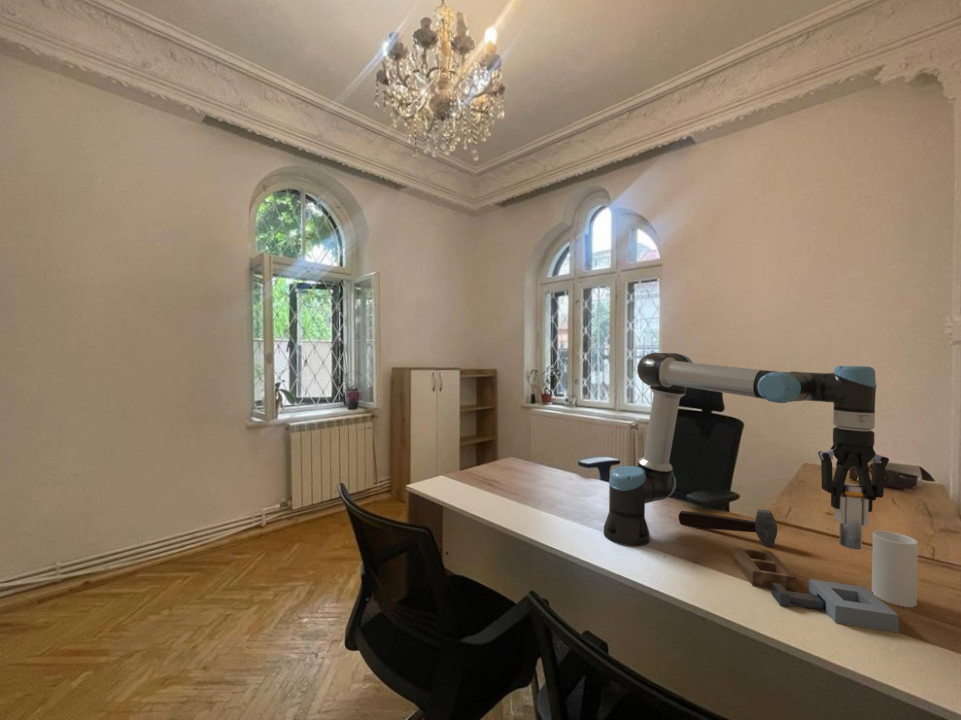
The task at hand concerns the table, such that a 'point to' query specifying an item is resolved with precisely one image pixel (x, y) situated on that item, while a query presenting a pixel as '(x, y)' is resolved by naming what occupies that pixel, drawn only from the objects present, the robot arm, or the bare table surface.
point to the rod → (852, 516)
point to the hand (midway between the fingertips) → (850, 522)
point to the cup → (894, 568)
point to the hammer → (734, 524)
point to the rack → (764, 569)
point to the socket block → (855, 606)
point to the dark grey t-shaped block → (797, 598)
